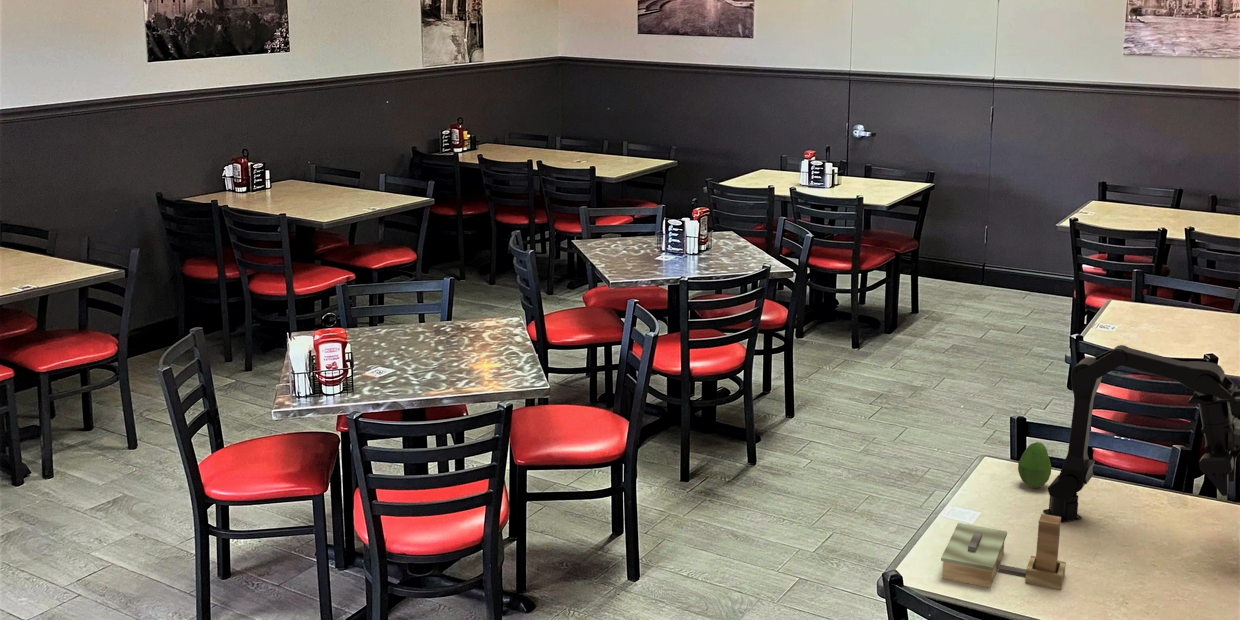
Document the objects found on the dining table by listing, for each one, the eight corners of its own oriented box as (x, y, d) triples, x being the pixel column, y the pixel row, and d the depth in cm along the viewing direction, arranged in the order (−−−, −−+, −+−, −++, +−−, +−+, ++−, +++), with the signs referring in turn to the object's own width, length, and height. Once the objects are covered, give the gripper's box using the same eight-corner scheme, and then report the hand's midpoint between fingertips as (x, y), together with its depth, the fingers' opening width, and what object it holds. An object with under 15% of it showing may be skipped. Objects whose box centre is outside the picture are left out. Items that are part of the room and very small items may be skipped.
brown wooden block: (1036, 572, 248) (1041, 513, 244) (1056, 576, 246) (1061, 517, 243) (1034, 580, 245) (1038, 521, 241) (1053, 584, 243) (1058, 524, 239)
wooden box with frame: (956, 542, 262) (958, 517, 261) (1067, 562, 252) (1070, 537, 250) (939, 578, 246) (941, 552, 245) (1057, 602, 236) (1059, 575, 234)
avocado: (1050, 482, 294) (1053, 439, 291) (1049, 494, 287) (1053, 450, 284) (1017, 478, 297) (1020, 435, 293) (1015, 490, 289) (1019, 446, 286)
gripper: (1251, 432, 237) (1263, 502, 239) (1263, 406, 252) (1275, 473, 254) (1193, 434, 244) (1205, 503, 246) (1208, 409, 259) (1220, 474, 261)
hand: (1228, 488), depth 251 cm, fingers open, 9 cm apart
